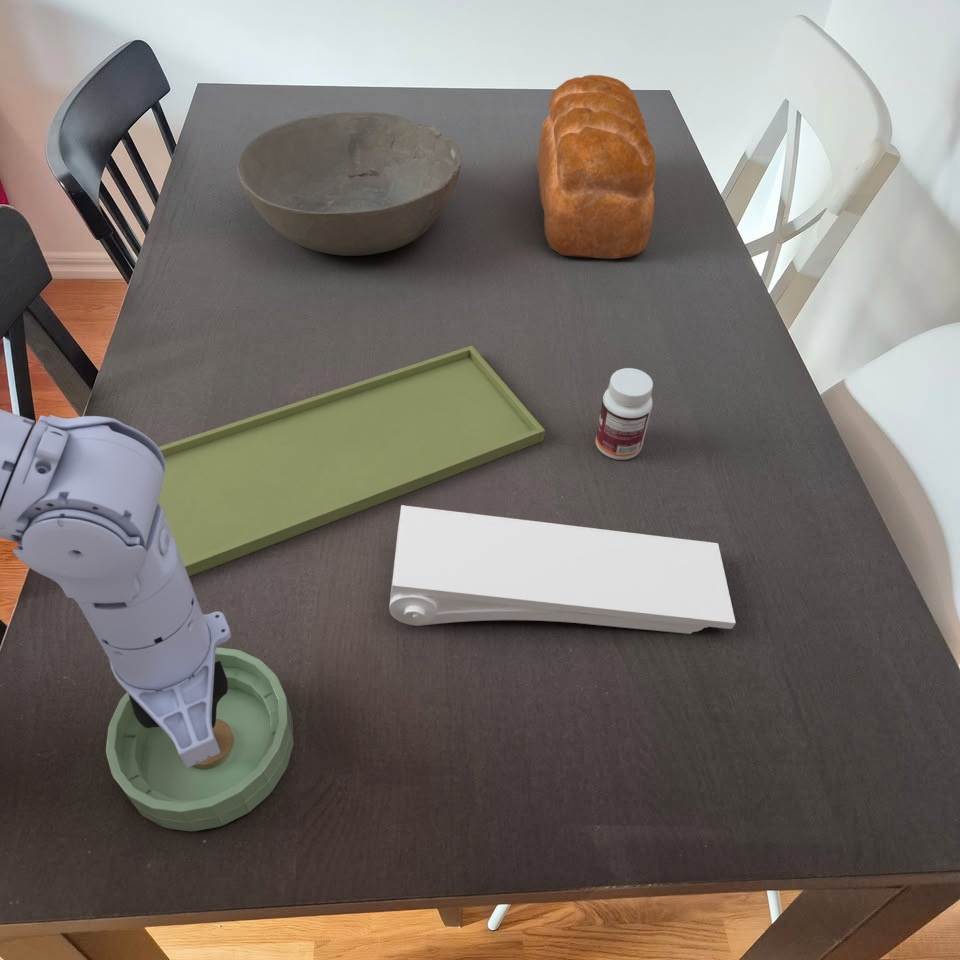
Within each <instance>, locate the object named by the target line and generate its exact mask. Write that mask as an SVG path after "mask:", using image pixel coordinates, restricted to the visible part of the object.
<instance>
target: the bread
mask: <svg viewBox="0 0 960 960" xmlns="http://www.w3.org/2000/svg"><path fill="white" fill-rule="evenodd" d="M548 112H549V115H547V117H546V118H545V120H544V121H542V125H541V130H540V136H539V140H538V141H539V142H538V149H537V160H536V168H537V175H538V188H539V190H538V191H539V199H540V205H541V208H542V210H543V214H544V217H543V228H544V235H545V238H546V241H547V244H548V248H550V249H552V250H553V251H555V252H556V253H557V254H559V255H560V256H564V257H573V258H588V259H602V260H603V259H604V260H607V259H608V260H609V259H610V260H611V259H612V260H613V259H624V258H630V257H633V256H637V255H639V254H640V253H641V252H642V251H644V250H645V249H646V248H647V247H648V243H649V239H650V235H651V231H652V227H653V223H654V222H653V221H654V210H655V191H654V184H655V182H656V155H655V150H654V147H653V145H652V144H651V142H650V139H649V136H648V135H649V134H648V132H647V128H646V123H645V119H644V117H643V115H642V112H641V109H640V106H639V104H638V102H637V100H636V98H635V94H634V92H633V90H632V88H630V87H629V86H628V85H627V84H626V83H625V82H624V81H621V80H620V79H618V78H615V77H611V76H607V75H600V74H587V75H583V76H581V77H574V78H573V77H572V78H570V79H567V80H565V81H564V82H563V83H561V84H560V85H559V86H558V87H556V88H555V89H554V90H552V92H551V95H550V98H549V102H548Z"/></svg>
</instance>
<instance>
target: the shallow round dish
mask: <svg viewBox="0 0 960 960" xmlns="http://www.w3.org/2000/svg"><path fill="white" fill-rule="evenodd" d="M217 661H220V662H221V665H222V667H223V670H224V672H225V675H226V677H227V682H228V690H227V693H226V694H225V695H224V696H223V697H222V698H221V699H220V700H219V702H218V704H217V709H216V719H219V720H222V721H224V722H225V723H226V724H227V725H228V726H229V727H230V729H231V732H232V734H233V737H234V745H233V749H232V751H231V753H230V755H229V756H228V758H227V759H226V760H225V761H224V762H223V763H221V764H220V765H218V766H216V767H214V768H210V769H197V768H194V767H192V766H191V767H189V768H186V766H185V765H184V763H183V761H182V759H181V757H180V755H179V753H178V751H177V748H176V746H175V744H174V742H173V741H172V739H171V738H170V737H169V736H168V734H167V733H166V732H165V731H164V730H163V729H162V728H161V727H152V728H145V727H144V726H143V725H141V724H140V722H139V721H138V720H137V718H136V716H135V714H134V711H133V708H132V704H131V701H130V698H129V693H128V692H127V691H125V694H124V695H123V696H122V697H121V698H120V700H119V701H118V704H117V706H116V708H115V710H114V712H113V715H112V717H111V719H110V722H109V723H108V726H107V737H106V745H105V746H106V747H105V754H106V758H107V761H108V766H109V769H110V773H111V776H112V778H113V779H114V780H115V782H116V783H117V785H118V786H119V787H120V789H121V791H122V792H123V793H124V795H125V796H126V798H127V799H128V800H129V802H130V803H131V804H132V805H133V806H134V807H135V809H136V810H137V812H138V813H139V814H140V815H141V816H142V817H143V818H145V819H148V820H149V821H151V822H153V823H155V824H157V825H158V826H160V827H162V828H165V829H170V830H177V831H185V832H198V831H203V830H209V829H214V828H215V829H216V828H220V827H223V826H225V825H227V824H229V823H231V822H233V821H236V820H238V819H240V818H241V817H243V816H245V815H248V814H249V813H251V812H252V811H253V810H254V809H255V808H256V807H257V806H258V805H259V804H261V803H262V802H263V801H264V800H265V799H267V797H268V796H269V795H271V793H272V792H273V791H274V789H275V788H276V786H277V785H278V783H279V781H280V780H281V778H282V777H283V775H284V773H285V772H286V770H288V769H287V768H288V766H289V762H290V759H291V755H292V752H293V748H294V742H295V740H294V739H295V737H294V720H293V716H292V712H291V709H290V705H289V702H288V699H287V696H286V693H285V691H284V689H283V687H282V684H281V682H280V679H279V677H278V676H277V674H276V673H274V671H273V670H272V669H271V668H270V667H269V666H268V665H266V663H264V661H262V659H259V658H257V657H255V656H253V655H251V654H248V653H246V652H244V651H242V650H240V649H235V648H227V647H219V646H218V647H217V648H216V651H215V662H217Z"/></svg>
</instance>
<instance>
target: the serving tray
mask: <svg viewBox="0 0 960 960" xmlns="http://www.w3.org/2000/svg"><path fill="white" fill-rule="evenodd" d="M545 435H546V430H545V428H544V427H543V426H542V425H541V424H540V423H539V421H537V419H536V418H535V417H534V416H533V414H531V412H530V411H529V410H528V408H526V406H525V404H523V403H522V402H521V401H520V400H519V398H518V397H517V396H516V395H515V393H514V392H513V391H512V390H511V389H510V388H509V387H508V385H507V384H506V383H505V382H504V381H503V380H502V379H501V377H500V376H499V375H498V374H497V373H496V371H495V370H494V369H493V368H492V367H491V366H490V364H488V362H487V361H486V360H485V359H484V358H483V356H482V355H481V353H479V352H478V350H476V348H475V347H474V345H469V346H466V347H462V348H459V349H456V350H453V351H451V352H447V353H445V354H441V355H438V356H434V357H432V358H428V359H426V360H423V361H419V362H417V363H413V364H410V365H407V366H404V367H400V368H398V369H394V370H392V371H389V372H386V373H382V374H379V375H377V376H373V377H370V378H367V379H364V380H361V381H358V382H355V383H352V384H349V385H346V386H342V387H340V388H336V389H333V390H329V391H327V392H324V393H321V394H317V395H314V396H312V397H308V398H306V399H302V400H299V401H296V402H292V403H290V404H287V405H284V406H281V407H278V408H275V409H272V410H268V411H265V412H262V413H259V414H255V415H252V416H250V417H247V418H244V419H240V420H237V421H235V422H231V423H228V424H224V425H222V426H219V427H216V428H212V429H211V430H207V431H204V432H200V433H197V434H193V435H191V436H188V437H185V438H182V439H179V440H176V441H173V442H169V443H166V444H164V445H160V446H158V448H159V449H160V451H161V452H162V454H163V457H164V460H165V472H164V481H163V485H162V489H161V492H160V496H159V500H158V503H159V504H160V505H161V507H162V510H163V512H164V515H165V517H166V520H167V523H168V525H169V528H170V530H171V533H172V535H173V537H174V540H175V542H176V545H177V548H178V550H179V553H180V556H181V558H182V561H183V563H184V566H185V569H186V571H187V574H188V576H189V578H190V577H192V576H194V575H198V574H200V573H202V572H205V571H208V570H210V569H213V568H215V567H218V566H220V565H223V564H227V563H229V562H232V561H234V560H236V559H239V558H242V557H244V556H247V555H249V554H252V553H255V552H258V551H261V550H262V549H265V548H268V547H270V546H274V545H275V544H279V543H281V542H283V541H286V540H289V539H291V538H293V537H297V536H299V535H301V534H302V535H303V534H305V533H307V532H310V531H312V530H314V529H317V528H320V527H322V526H326V525H327V524H330V523H333V522H336V521H339V520H341V519H343V518H346V517H349V516H351V515H354V514H357V513H359V512H362V511H365V510H367V509H369V508H372V507H376V506H377V505H380V504H383V503H385V502H388V501H390V500H393V499H395V498H399V497H401V496H403V495H406V494H409V493H411V492H414V491H416V490H419V489H423V488H425V487H427V486H430V485H433V484H434V483H438V482H440V481H442V480H446V479H447V478H448V479H449V478H450V477H454V476H456V475H458V474H462V473H464V472H467V471H468V470H471V469H474V468H476V467H477V468H478V467H479V466H481V465H484V464H487V463H489V462H493V461H494V460H498V459H500V458H503V457H505V456H508V455H511V454H514V453H516V452H519V451H521V450H523V449H526V448H529V447H531V446H533V445H534V446H535V445H537V444H539V443H542V442H544V441H545Z"/></svg>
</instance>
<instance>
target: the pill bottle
mask: <svg viewBox="0 0 960 960" xmlns="http://www.w3.org/2000/svg"><path fill="white" fill-rule="evenodd" d="M653 388H654V382H653V379H652V378H651V376H650V375H649V374H647V373H646V371H643V370H641V369H638V368H632V367H625V368H621V369H618V370H616V371H614V372H613V373H612V375H611V376H610V379H609V383H608V387H607V389H606V390H605V392H604V393H603V396H602V398H601V407H600V412H599V417H598V422H597V431H596V434H595V445H596V447H597V449H598V450H599V452H601V454H603V455H604V456H606V457H608V458H610V459H613V460H617V461H618V460H619V461H626V460H629V459H630V460H631V459H633V458H635V457H637V456H638V455H639V454H640V453H641V451H642V449H643V445H644V441H645V437H646V433H647V429H648V425H649V420H650V417H651V413H652V409H653V402H654V401H653V397H652V394H653Z"/></svg>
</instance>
